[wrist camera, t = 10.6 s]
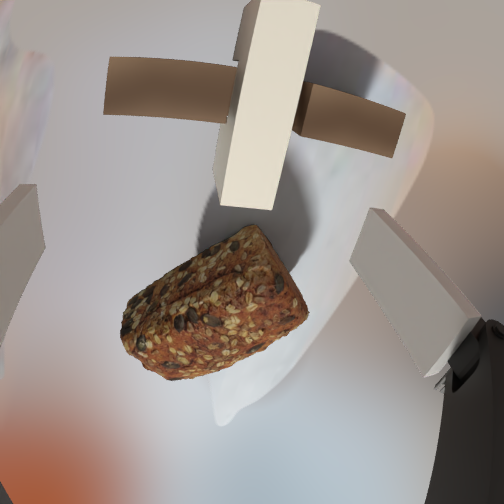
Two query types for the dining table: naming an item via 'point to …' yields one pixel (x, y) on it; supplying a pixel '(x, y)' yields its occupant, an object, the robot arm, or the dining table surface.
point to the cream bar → (263, 100)
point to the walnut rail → (219, 97)
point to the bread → (213, 309)
